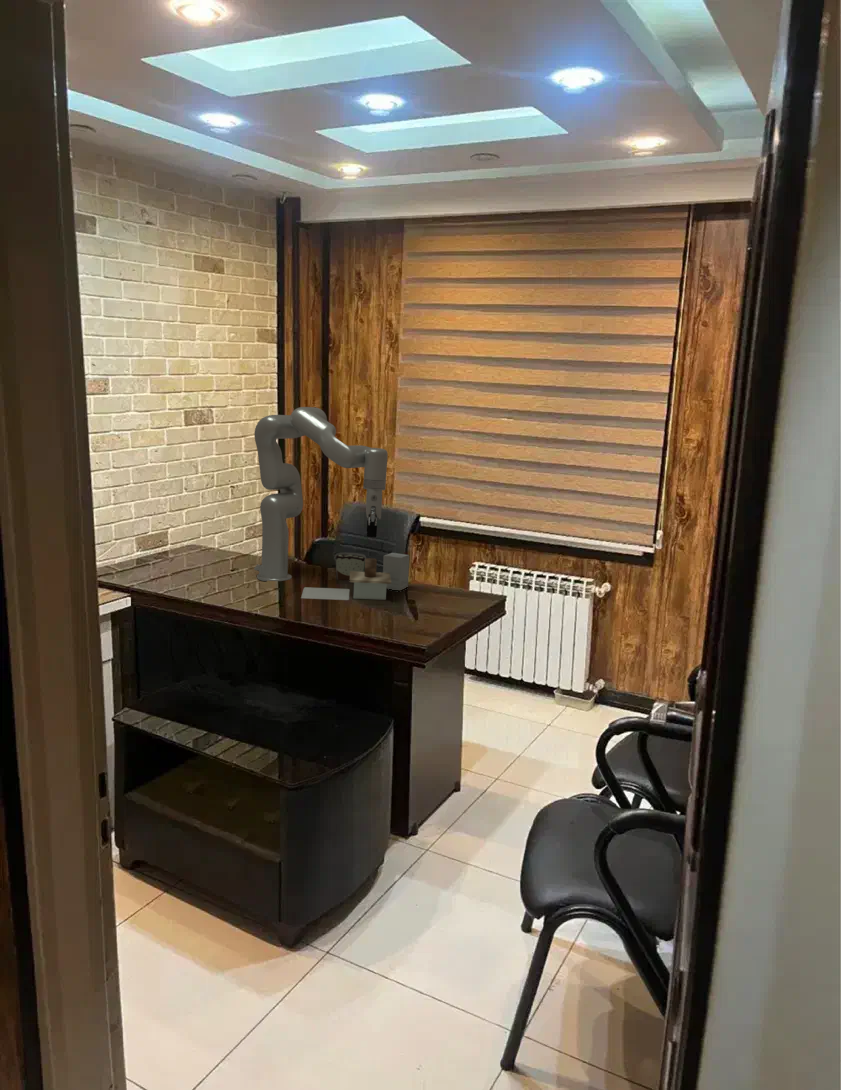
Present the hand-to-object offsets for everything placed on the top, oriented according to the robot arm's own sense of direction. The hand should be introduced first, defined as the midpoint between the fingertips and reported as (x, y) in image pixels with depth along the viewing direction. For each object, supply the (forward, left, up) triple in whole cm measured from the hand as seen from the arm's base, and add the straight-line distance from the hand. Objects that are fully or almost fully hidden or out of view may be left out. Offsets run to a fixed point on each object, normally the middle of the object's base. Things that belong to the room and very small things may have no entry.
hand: (371, 534), depth 280 cm
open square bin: (0, 0, -22) cm, 22 cm away
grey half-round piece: (-19, +18, -22) cm, 34 cm away
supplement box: (+1, +17, -22) cm, 28 cm away
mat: (-12, -8, -22) cm, 26 cm away
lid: (0, 0, -16) cm, 16 cm away
